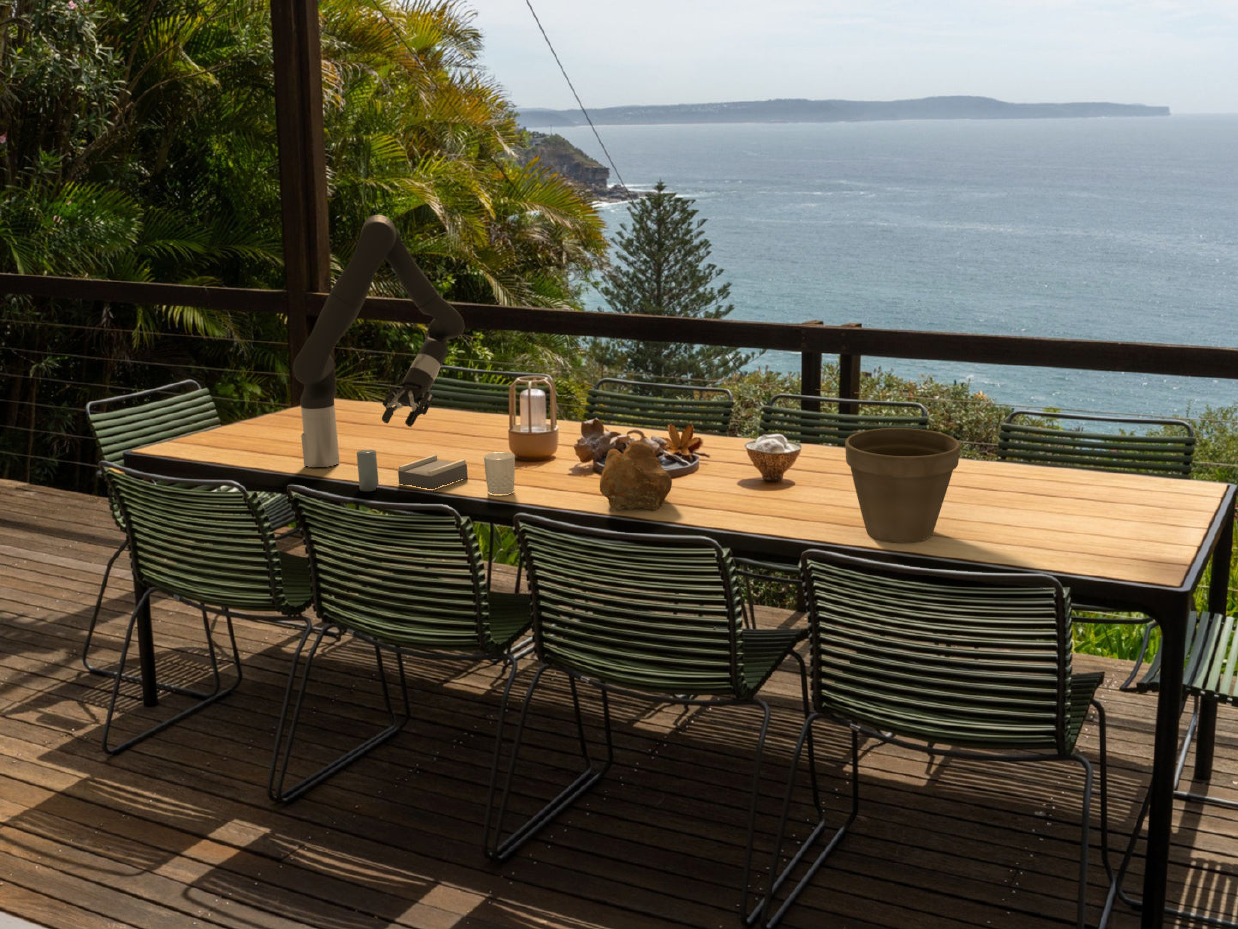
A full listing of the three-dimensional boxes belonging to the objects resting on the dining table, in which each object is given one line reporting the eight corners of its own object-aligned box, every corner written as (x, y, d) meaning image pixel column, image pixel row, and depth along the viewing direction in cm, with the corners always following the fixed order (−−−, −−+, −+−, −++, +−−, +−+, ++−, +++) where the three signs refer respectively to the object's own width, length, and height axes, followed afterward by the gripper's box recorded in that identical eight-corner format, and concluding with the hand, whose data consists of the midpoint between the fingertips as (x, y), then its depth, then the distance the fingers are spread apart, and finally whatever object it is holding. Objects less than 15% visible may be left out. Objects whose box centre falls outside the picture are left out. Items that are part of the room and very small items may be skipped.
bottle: (357, 491, 314) (354, 454, 312) (362, 486, 319) (359, 449, 317) (376, 491, 314) (373, 454, 311) (380, 485, 319) (378, 449, 316)
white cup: (492, 499, 304) (490, 461, 302) (481, 491, 311) (479, 454, 309) (521, 494, 308) (519, 456, 305) (509, 487, 315) (507, 450, 312)
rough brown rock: (653, 525, 283) (658, 464, 279) (589, 512, 289) (593, 453, 285) (685, 501, 304) (690, 444, 300) (625, 490, 310) (629, 434, 306)
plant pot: (921, 559, 253) (926, 460, 247) (822, 537, 269) (823, 443, 263) (975, 530, 271) (980, 437, 265) (878, 510, 287) (881, 422, 281)
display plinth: (432, 491, 313) (431, 472, 311) (399, 485, 319) (397, 466, 318) (467, 478, 324) (466, 459, 322) (434, 472, 330) (433, 454, 329)
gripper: (395, 364, 329) (369, 413, 323) (434, 368, 322) (408, 418, 315) (410, 380, 335) (384, 428, 329) (448, 384, 327) (423, 433, 321)
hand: (396, 423), depth 322 cm, fingers open, 8 cm apart
